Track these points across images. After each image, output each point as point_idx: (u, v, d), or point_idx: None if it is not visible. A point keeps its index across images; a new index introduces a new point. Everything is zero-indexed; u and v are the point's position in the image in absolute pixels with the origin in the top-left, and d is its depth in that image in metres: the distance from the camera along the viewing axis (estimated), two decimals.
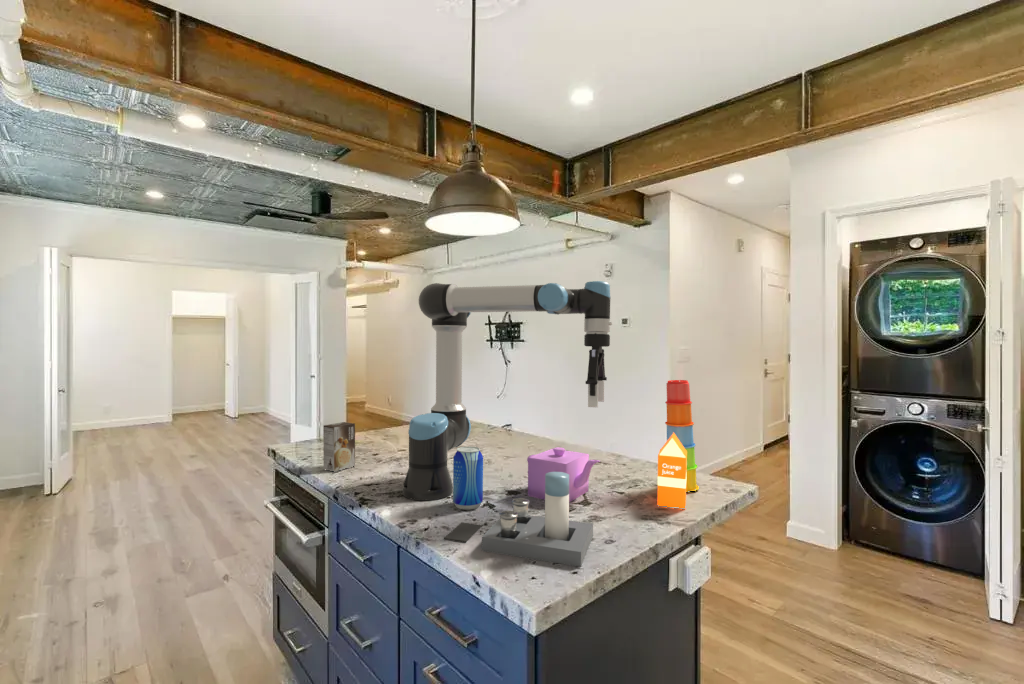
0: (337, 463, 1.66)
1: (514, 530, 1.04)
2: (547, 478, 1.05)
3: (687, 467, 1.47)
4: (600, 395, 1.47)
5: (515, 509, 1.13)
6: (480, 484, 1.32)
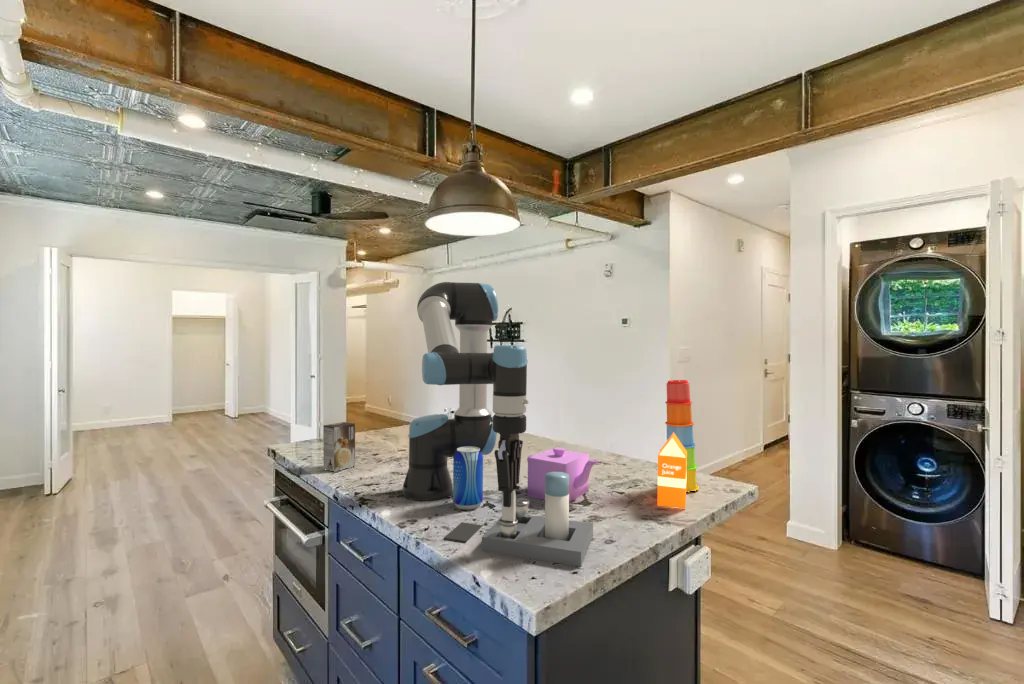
0: (337, 463, 1.66)
1: (514, 537, 1.04)
2: (547, 478, 1.05)
3: (687, 467, 1.47)
4: None
5: None
6: (480, 484, 1.32)
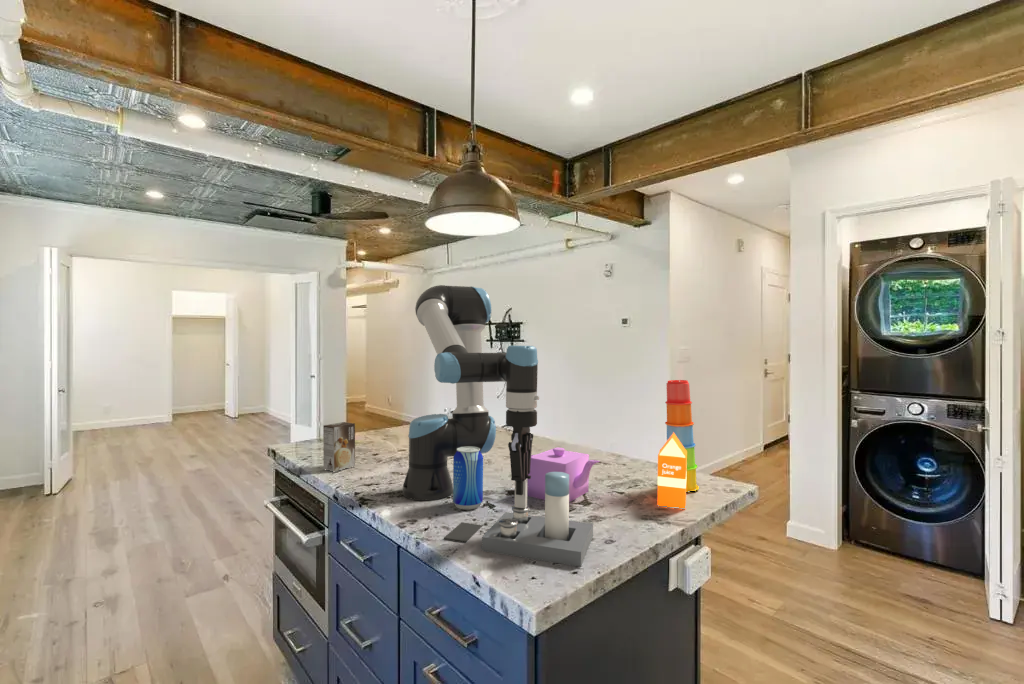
0: (337, 463, 1.66)
1: (514, 538, 1.04)
2: (547, 478, 1.05)
3: (687, 467, 1.47)
4: None
5: (515, 516, 1.13)
6: (480, 484, 1.32)
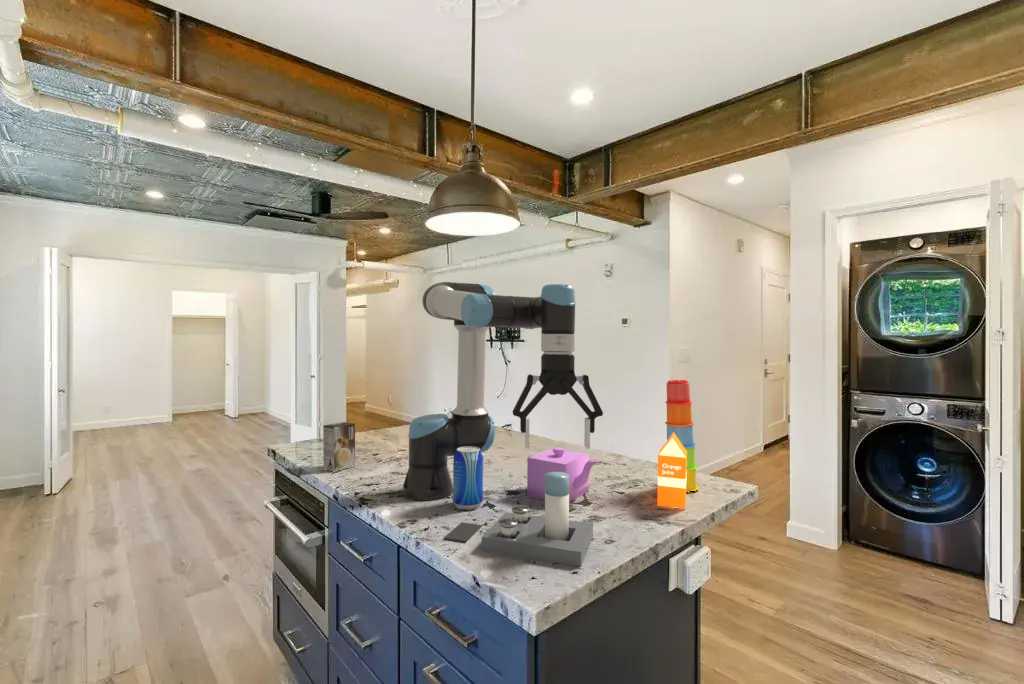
0: (337, 463, 1.66)
1: (514, 538, 1.04)
2: (547, 478, 1.05)
3: (687, 467, 1.47)
4: (585, 439, 1.06)
5: (515, 516, 1.13)
6: (480, 484, 1.32)
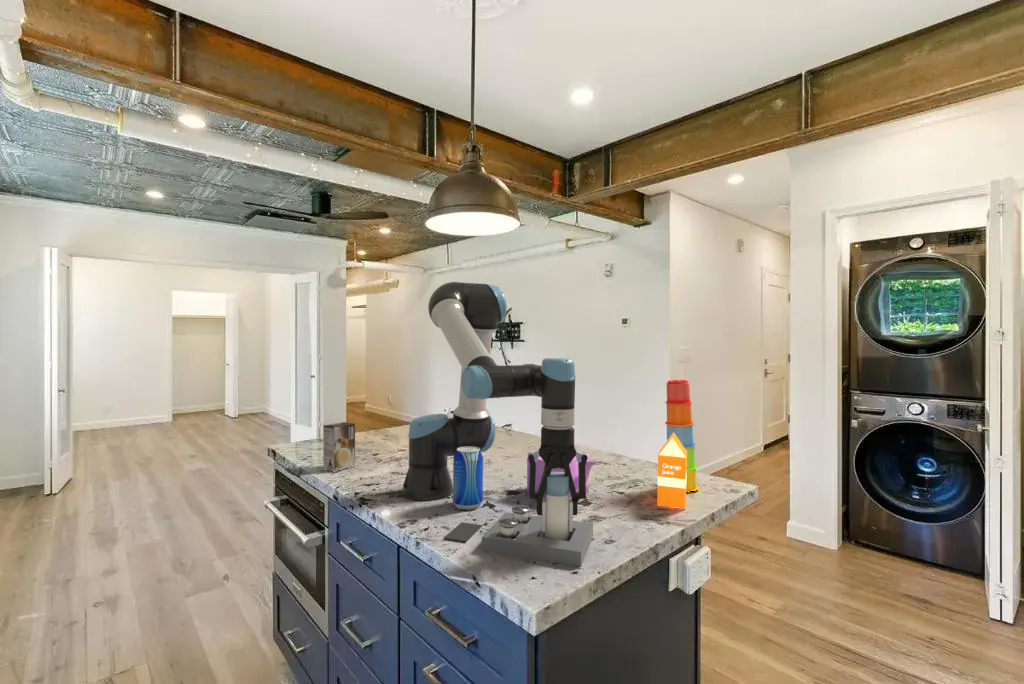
0: (337, 463, 1.66)
1: (514, 538, 1.04)
2: (547, 478, 1.05)
3: (687, 467, 1.47)
4: None
5: (515, 516, 1.13)
6: (480, 484, 1.32)
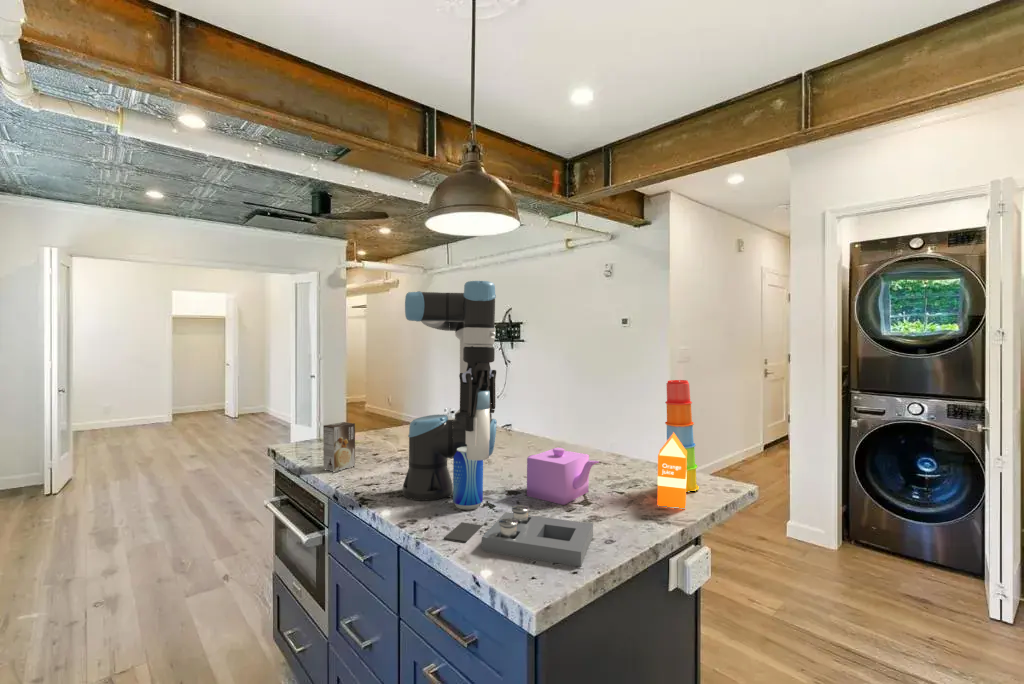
0: (337, 463, 1.66)
1: (514, 538, 1.04)
2: None
3: (687, 467, 1.47)
4: None
5: (515, 516, 1.13)
6: (480, 484, 1.32)
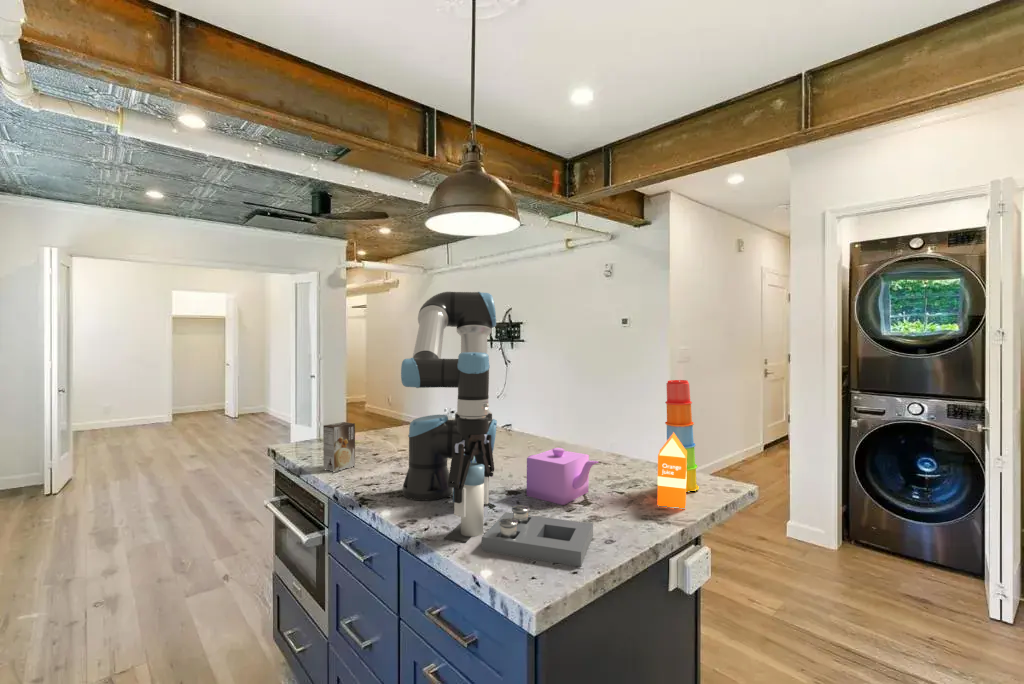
0: (337, 463, 1.66)
1: (514, 538, 1.04)
2: (472, 470, 1.11)
3: (687, 467, 1.47)
4: None
5: (515, 516, 1.13)
6: None
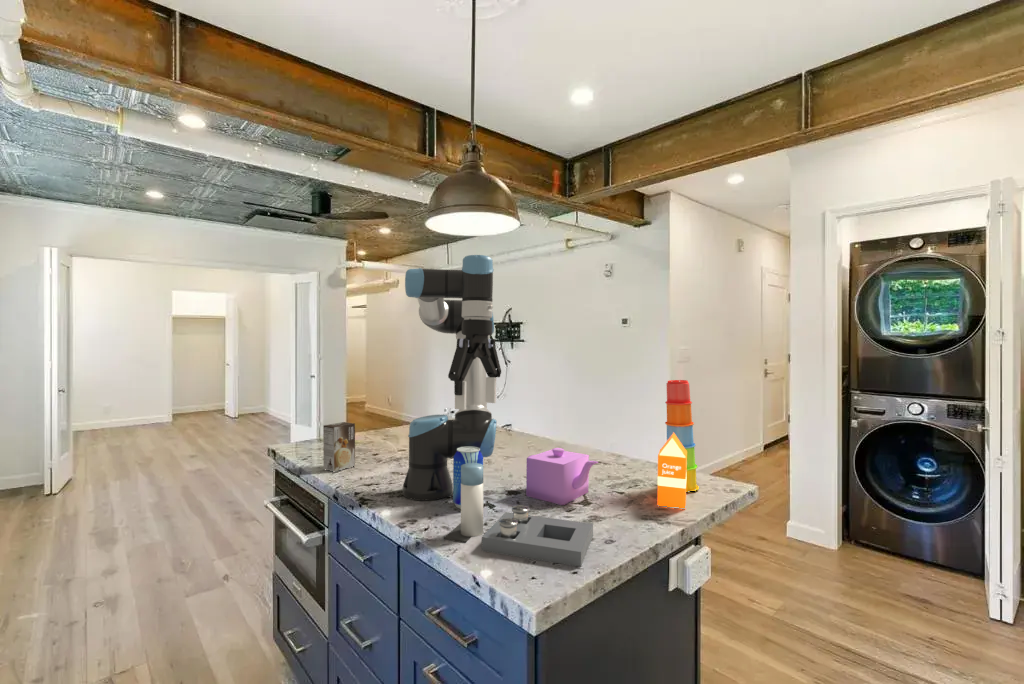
0: (337, 463, 1.66)
1: (514, 538, 1.04)
2: (471, 470, 1.11)
3: (687, 467, 1.47)
4: (491, 395, 1.21)
5: (515, 516, 1.13)
6: None
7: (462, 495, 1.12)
